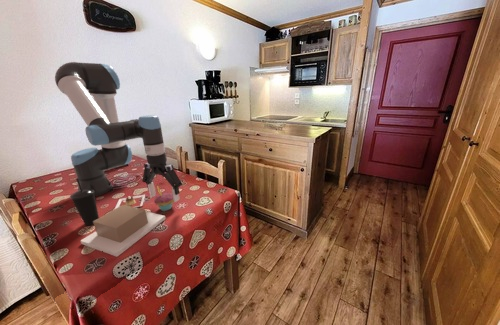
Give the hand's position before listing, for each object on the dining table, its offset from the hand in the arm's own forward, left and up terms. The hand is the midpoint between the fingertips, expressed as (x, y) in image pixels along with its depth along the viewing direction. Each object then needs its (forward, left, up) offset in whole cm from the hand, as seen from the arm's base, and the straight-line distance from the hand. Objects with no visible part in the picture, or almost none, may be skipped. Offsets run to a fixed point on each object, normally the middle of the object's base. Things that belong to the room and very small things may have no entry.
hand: (164, 198), depth 92 cm
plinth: (-3, -18, -5) cm, 19 cm away
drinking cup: (-22, -19, -5) cm, 30 cm away
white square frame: (-20, -2, -6) cm, 21 cm away
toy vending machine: (-75, +33, -5) cm, 82 cm away
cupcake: (0, 0, -5) cm, 5 cm away
